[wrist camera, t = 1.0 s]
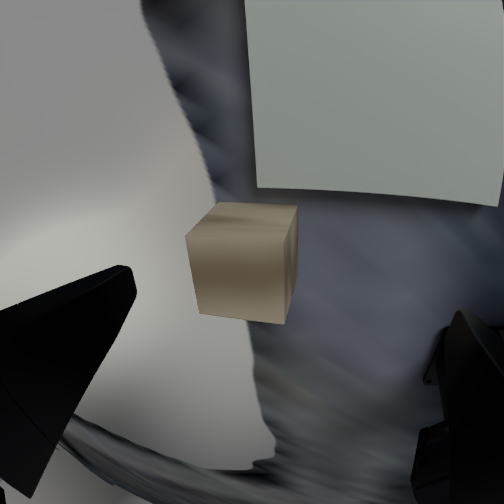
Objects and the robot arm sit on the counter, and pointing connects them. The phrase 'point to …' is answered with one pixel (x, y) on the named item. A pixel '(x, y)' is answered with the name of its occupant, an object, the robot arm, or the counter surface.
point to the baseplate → (379, 96)
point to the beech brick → (245, 260)
